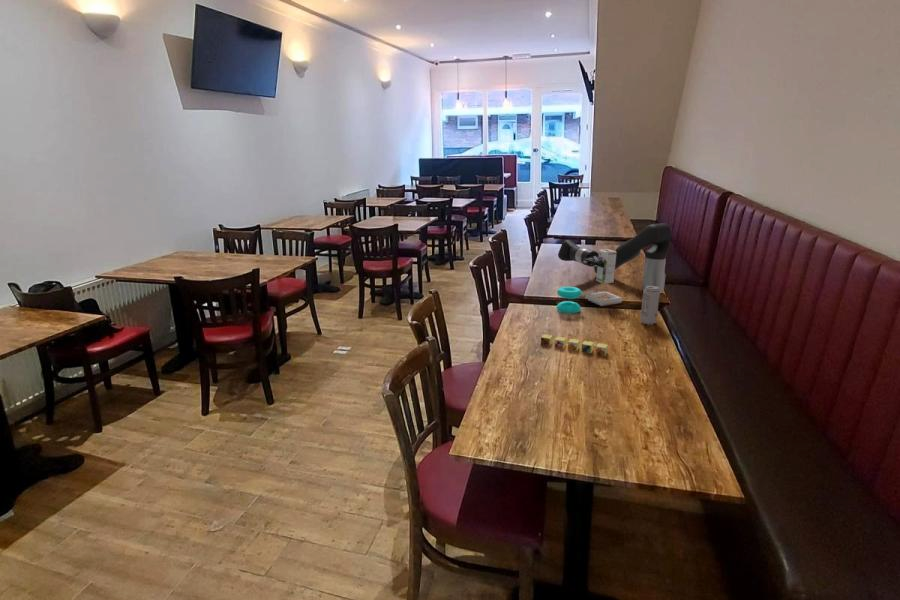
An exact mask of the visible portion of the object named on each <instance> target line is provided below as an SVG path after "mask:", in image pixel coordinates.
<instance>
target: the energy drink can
mask: <svg viewBox="0 0 900 600" xmlns="http://www.w3.org/2000/svg"><path fill="white" fill-rule="evenodd" d="M642 293H643V294H642V302H641V310H640V312H641V313H640V322H641V324H642V323H644V324H643V325H645V324H649V325H648V326H651V325H650V324H654V323H655V324H656V323H657V319H658V313H659V303H660V295H661V294H660V291H659V287H657V286H646V288H645V289H644V291H643V292H642ZM655 324H654V325H655Z"/></svg>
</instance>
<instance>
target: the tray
mask: <svg viewBox="0 0 900 600" xmlns="http://www.w3.org/2000/svg"><path fill="white" fill-rule="evenodd" d="M601 296H608V297H610V299H603V300H602V299H599V298H597V297H601ZM586 298H587V299H588V300H587V301H589V302H591V303H592V304H593V303H594V304H596V305H598V306H600V307H604V306H610V305H616V304H617V305H618V304H622V300H623V297H621V296H619V295H616V294H613V293H611V292H608V291H600V292H593V293H586V294H585V299H586Z"/></svg>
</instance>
